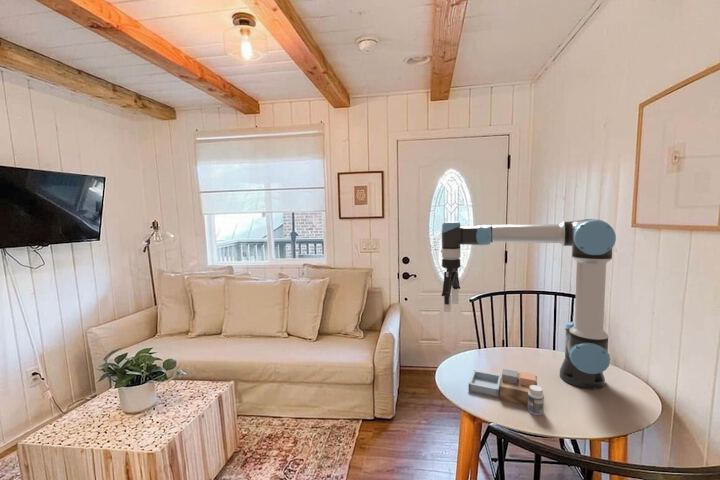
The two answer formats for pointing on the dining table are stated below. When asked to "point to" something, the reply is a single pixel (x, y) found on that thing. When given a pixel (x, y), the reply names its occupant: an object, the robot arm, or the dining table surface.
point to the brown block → (514, 391)
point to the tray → (485, 383)
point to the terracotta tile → (527, 379)
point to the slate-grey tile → (510, 376)
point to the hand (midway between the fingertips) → (451, 307)
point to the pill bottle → (535, 400)
